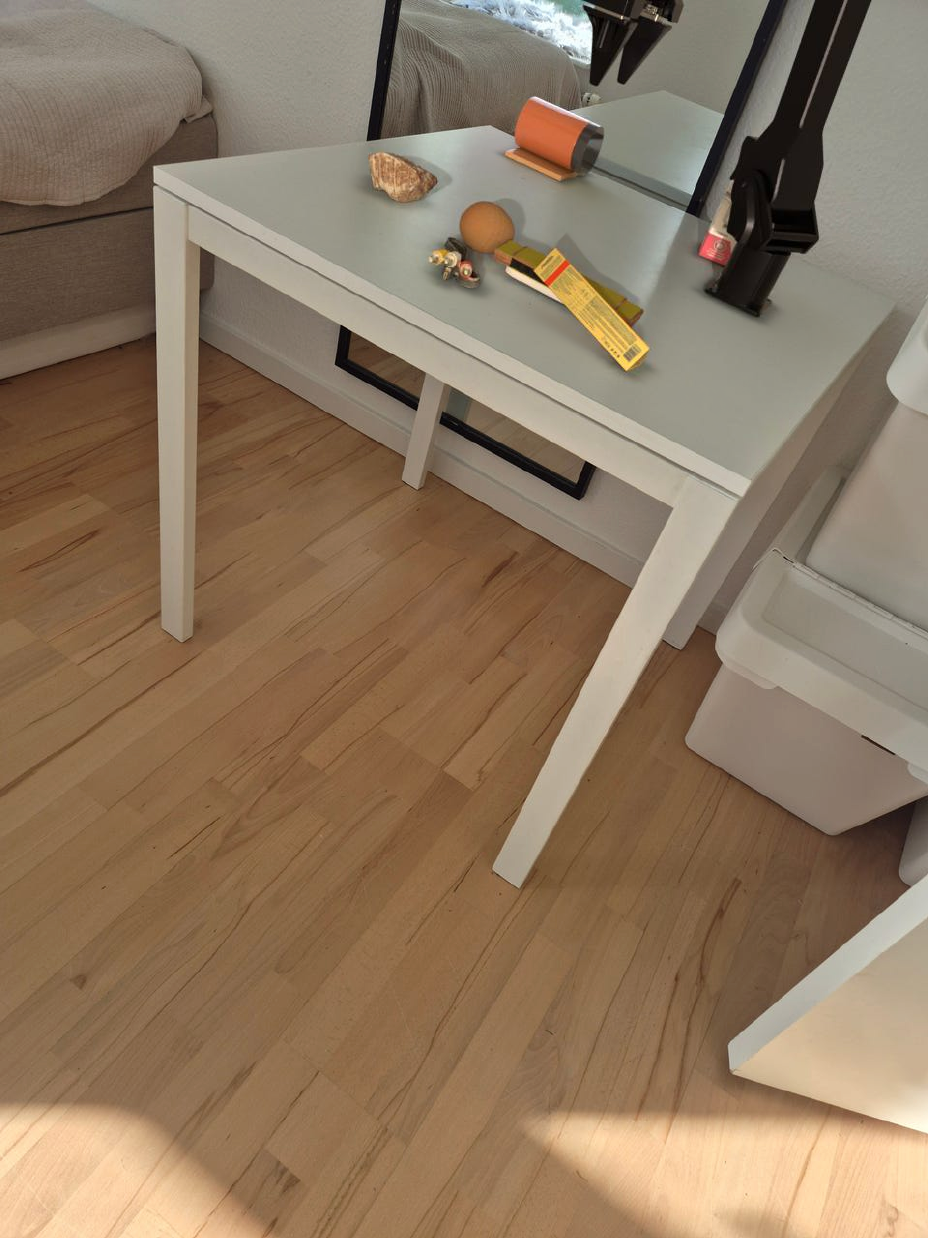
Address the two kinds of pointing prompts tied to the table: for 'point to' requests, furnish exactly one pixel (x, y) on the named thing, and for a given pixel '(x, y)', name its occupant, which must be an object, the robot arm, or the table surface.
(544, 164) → the coaster
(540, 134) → the jar
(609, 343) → the chocolate bar
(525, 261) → the olive brown bar
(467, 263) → the composite cable
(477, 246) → the egg
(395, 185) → the stone
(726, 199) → the ink box
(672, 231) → the table surface
